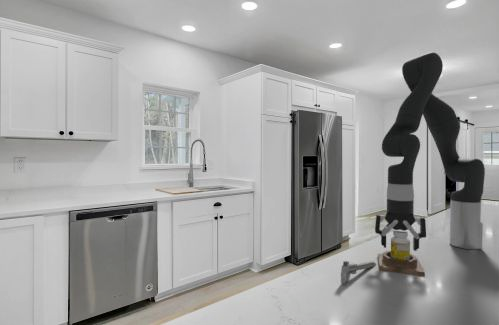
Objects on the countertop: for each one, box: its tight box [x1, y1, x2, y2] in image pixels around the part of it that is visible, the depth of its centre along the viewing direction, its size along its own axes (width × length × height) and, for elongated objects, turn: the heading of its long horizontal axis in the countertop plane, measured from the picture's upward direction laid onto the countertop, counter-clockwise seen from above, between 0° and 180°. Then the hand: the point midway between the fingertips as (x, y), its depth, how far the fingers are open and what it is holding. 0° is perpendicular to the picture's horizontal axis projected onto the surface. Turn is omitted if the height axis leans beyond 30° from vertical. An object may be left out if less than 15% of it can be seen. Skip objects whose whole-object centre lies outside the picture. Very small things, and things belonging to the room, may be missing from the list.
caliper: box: [340, 260, 377, 286], centre depth 86 cm, size 21×1×6 cm, turn 134°
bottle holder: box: [377, 250, 426, 277], centre depth 92 cm, size 12×12×3 cm
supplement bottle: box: [390, 229, 411, 261], centre depth 91 cm, size 5×5×10 cm
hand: (399, 248), depth 91 cm, fingers open, 8 cm apart
